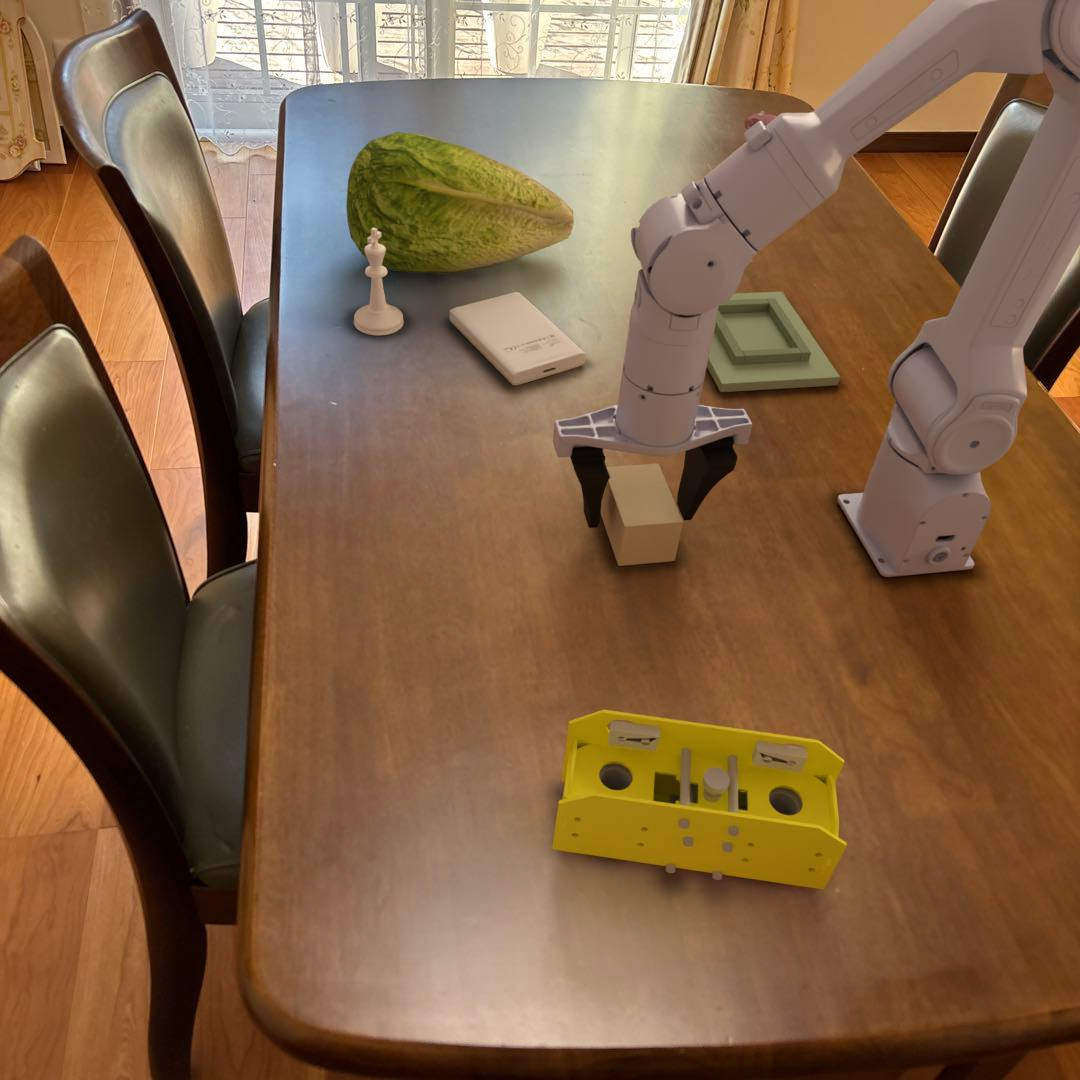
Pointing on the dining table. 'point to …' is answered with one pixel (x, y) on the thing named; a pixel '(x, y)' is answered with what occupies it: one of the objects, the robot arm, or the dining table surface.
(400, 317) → the chess piece
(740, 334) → the base mat
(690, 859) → the yellow toy chassis
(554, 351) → the hard drive
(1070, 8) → the robot arm
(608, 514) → the tan rectangular block
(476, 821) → the dining table surface
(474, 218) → the lettuce
